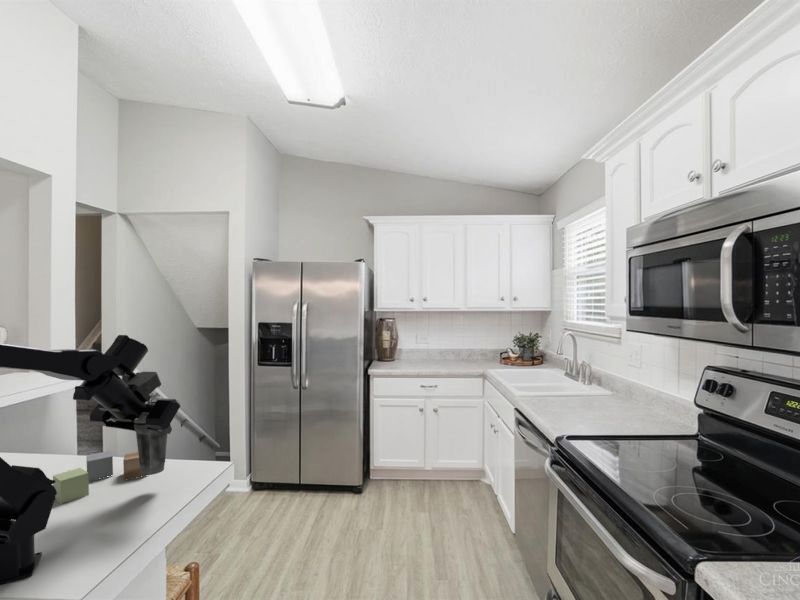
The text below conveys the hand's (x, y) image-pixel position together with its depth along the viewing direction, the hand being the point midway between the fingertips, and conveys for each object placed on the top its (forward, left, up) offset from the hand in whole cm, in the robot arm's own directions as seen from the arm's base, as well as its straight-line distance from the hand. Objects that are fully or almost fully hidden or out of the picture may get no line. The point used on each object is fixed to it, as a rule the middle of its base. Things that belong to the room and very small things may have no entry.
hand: (157, 431), depth 95 cm
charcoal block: (+16, +13, -13) cm, 25 cm away
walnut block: (+12, +5, -13) cm, 19 cm away
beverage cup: (-1, +1, -9) cm, 9 cm away
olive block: (+6, +17, -13) cm, 22 cm away
